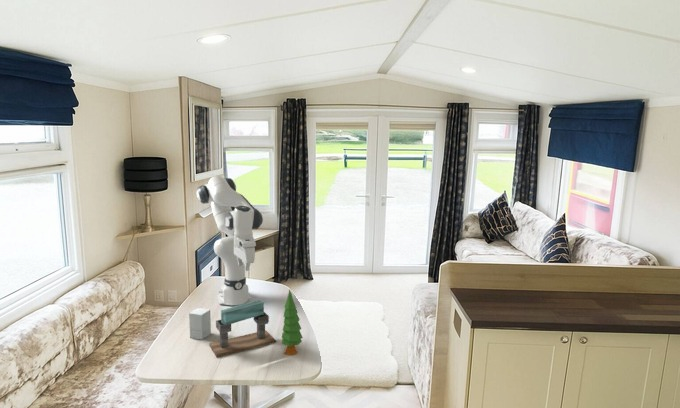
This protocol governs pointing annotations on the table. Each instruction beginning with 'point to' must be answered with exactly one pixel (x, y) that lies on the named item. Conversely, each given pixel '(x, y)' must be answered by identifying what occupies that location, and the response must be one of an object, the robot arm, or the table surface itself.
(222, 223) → the robot arm
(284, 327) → the decorative tree
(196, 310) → the supplement box
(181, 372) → the table surface
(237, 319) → the teal rail
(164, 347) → the table surface
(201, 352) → the table surface
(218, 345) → the bracket stand
